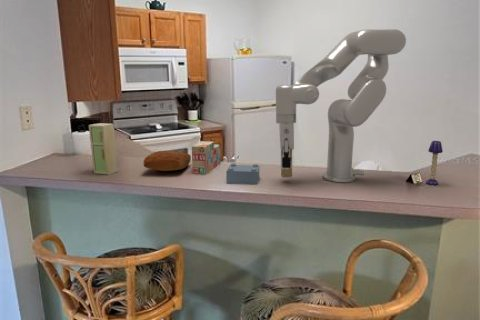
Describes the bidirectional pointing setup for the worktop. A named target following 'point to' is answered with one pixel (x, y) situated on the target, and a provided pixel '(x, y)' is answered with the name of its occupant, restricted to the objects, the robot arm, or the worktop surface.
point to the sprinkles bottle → (286, 171)
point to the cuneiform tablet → (167, 161)
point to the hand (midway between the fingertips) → (286, 165)
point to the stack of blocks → (205, 157)
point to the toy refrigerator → (103, 148)
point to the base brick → (242, 174)
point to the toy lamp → (434, 161)
